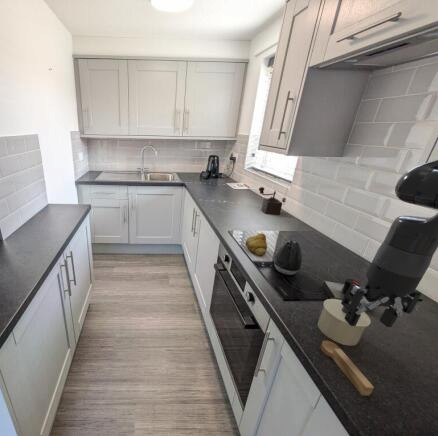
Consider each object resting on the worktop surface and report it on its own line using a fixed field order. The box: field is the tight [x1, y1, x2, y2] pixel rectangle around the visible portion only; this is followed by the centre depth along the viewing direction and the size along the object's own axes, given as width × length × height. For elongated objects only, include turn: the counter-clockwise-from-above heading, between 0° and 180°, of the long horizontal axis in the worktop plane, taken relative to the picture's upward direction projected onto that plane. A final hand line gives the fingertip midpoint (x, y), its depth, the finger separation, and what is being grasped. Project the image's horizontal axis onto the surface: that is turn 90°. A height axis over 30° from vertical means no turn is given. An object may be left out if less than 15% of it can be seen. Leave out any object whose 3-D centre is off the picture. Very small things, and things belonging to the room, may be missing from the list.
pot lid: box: [322, 298, 372, 328], centre depth 68 cm, size 11×11×4 cm
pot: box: [316, 306, 367, 347], centre depth 70 cm, size 10×10×7 cm
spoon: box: [320, 340, 375, 397], centre depth 60 cm, size 14×4×3 cm, turn 0°
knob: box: [342, 278, 361, 293], centre depth 84 cm, size 4×4×5 cm
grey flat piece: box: [321, 280, 376, 313], centre depth 85 cm, size 12×10×3 cm
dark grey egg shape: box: [273, 239, 303, 276], centre depth 98 cm, size 10×10×15 cm
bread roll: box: [245, 233, 268, 256], centre depth 116 cm, size 13×10×8 cm
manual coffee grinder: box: [258, 186, 283, 216], centre depth 172 cm, size 16×11×18 cm
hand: (367, 323), depth 54 cm, fingers open, 8 cm apart
